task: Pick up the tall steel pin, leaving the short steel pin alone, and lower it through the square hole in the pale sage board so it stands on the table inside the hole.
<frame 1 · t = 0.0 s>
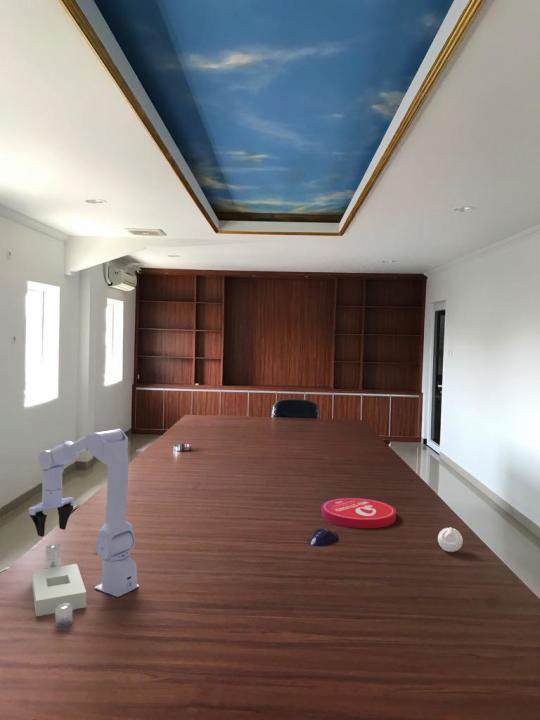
hand: (51, 532, 167), 10 cm above the table, tool pointing down, fingers open, 7 cm apart
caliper: (103, 543, 187), on the table
white ball: (449, 551, 186), on the table
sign: (358, 517, 222), on the table
tall pin: (52, 572, 162), on the table
short pin: (63, 623, 133), on the table
computer mouse: (322, 541, 194), on the table
pin board: (57, 595, 147), on the table
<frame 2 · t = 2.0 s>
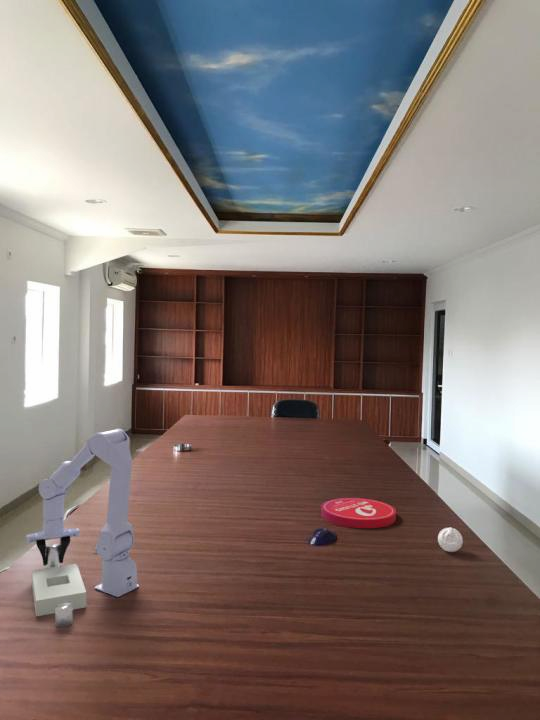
hand: (53, 563, 162), 3 cm above the table, tool pointing down, fingers closed on tall pin, 4 cm apart
tall pin: (52, 572, 162), on the table, touching gripper
everything else where it was.
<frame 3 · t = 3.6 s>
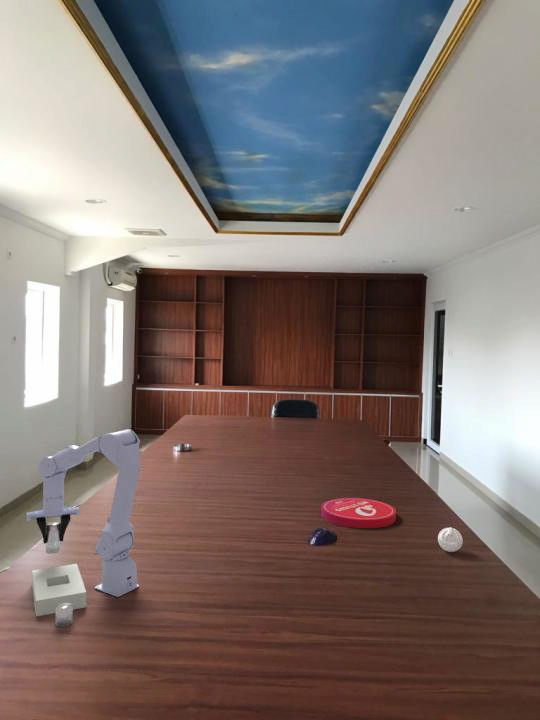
hand: (53, 541, 162), 9 cm above the table, tool pointing down, fingers closed on tall pin, 4 cm apart
tall pin: (53, 551, 162), point 7 cm above the table, touching gripper
everything else where it was.
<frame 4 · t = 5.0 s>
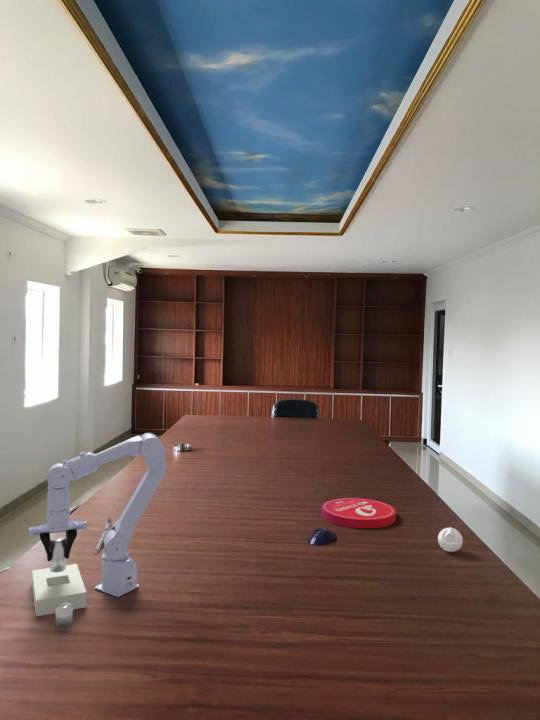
hand: (58, 558, 148), 10 cm above the table, tool pointing down, fingers closed on tall pin, 4 cm apart
tall pin: (57, 569, 148), point 7 cm above the table, touching gripper
everything else where it was.
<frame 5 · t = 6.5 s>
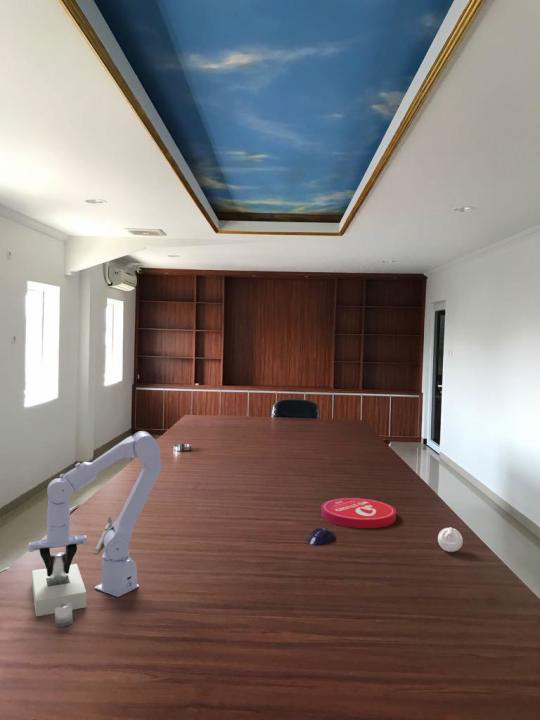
hand: (57, 573, 147), 6 cm above the table, tool pointing down, fingers closed on tall pin, 4 cm apart
tall pin: (57, 584, 147), point 3 cm above the table, touching gripper
everything else where it was.
when the fingers open (5 cm above the table, at t = 7.9 s): tall pin drops 2 cm, resting in pin board.
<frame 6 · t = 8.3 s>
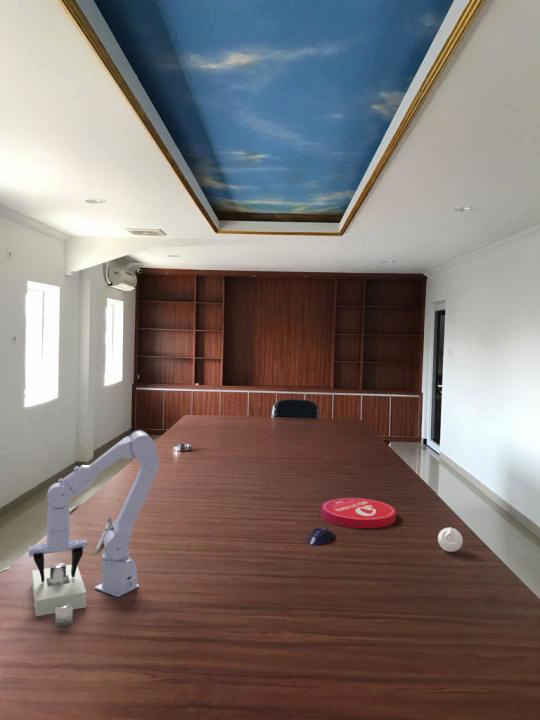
hand: (58, 578, 147), 5 cm above the table, tool pointing down, fingers open, 7 cm apart
tall pin: (57, 595, 148), resting in pin board
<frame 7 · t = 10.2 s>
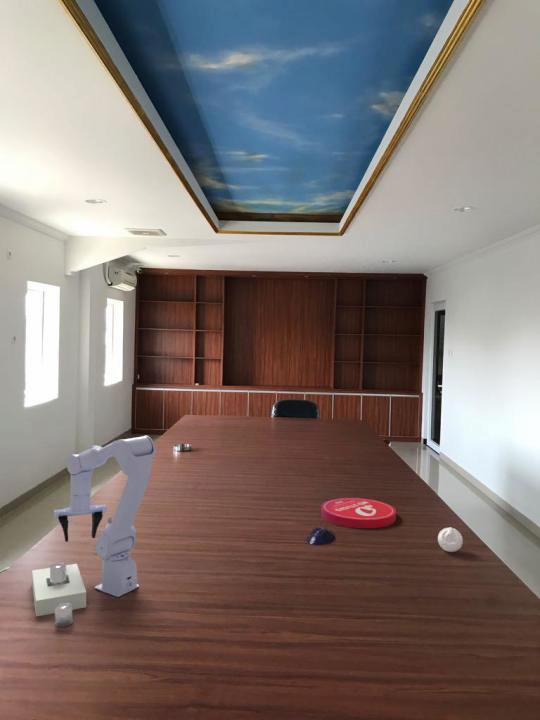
hand: (80, 538, 163), 10 cm above the table, tool pointing down, fingers open, 7 cm apart
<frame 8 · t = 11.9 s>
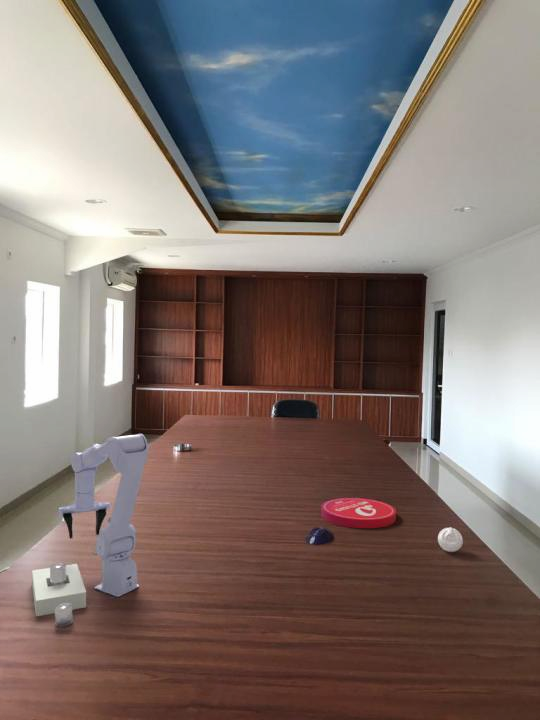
hand: (84, 535, 166), 10 cm above the table, tool pointing down, fingers open, 7 cm apart
at the end: tall pin 0.1 cm from the pin board (horizontally); tall pin resting in pin board; short pin moved 0.0 cm from its start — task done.
